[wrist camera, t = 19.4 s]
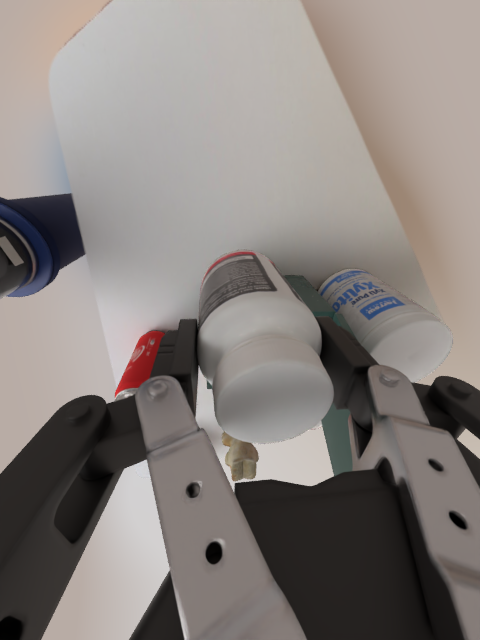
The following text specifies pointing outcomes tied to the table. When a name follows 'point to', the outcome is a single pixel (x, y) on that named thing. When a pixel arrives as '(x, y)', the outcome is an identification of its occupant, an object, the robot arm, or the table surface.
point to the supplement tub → (388, 323)
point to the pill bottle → (260, 351)
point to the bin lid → (338, 426)
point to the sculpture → (240, 457)
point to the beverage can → (139, 365)
